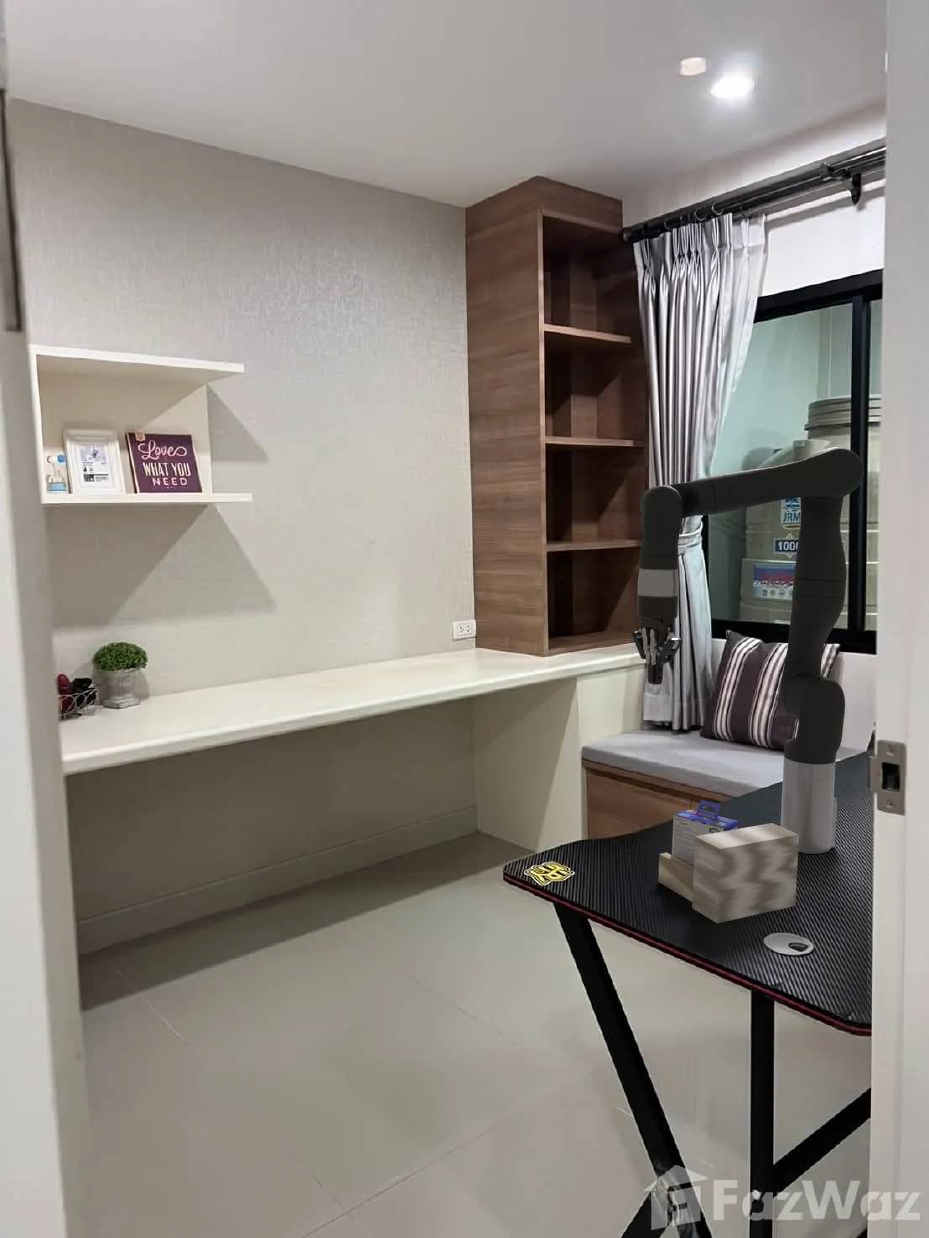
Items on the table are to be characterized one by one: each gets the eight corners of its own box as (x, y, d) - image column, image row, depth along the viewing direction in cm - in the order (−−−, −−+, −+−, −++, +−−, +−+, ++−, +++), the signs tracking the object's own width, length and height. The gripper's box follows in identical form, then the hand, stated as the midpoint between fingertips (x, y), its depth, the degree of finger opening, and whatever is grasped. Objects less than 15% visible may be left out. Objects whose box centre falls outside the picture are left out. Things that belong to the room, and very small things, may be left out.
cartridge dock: (724, 868, 166) (727, 803, 164) (795, 905, 150) (798, 834, 149) (651, 883, 159) (653, 815, 157) (717, 923, 144) (720, 848, 142)
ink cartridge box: (737, 890, 156) (741, 807, 155) (721, 899, 152) (724, 814, 151) (686, 873, 163) (689, 794, 161) (669, 882, 159) (672, 801, 158)
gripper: (696, 595, 169) (693, 688, 171) (653, 589, 181) (650, 676, 183) (663, 596, 166) (659, 691, 168) (621, 590, 178) (618, 679, 180)
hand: (654, 683), depth 176 cm, fingers closed
